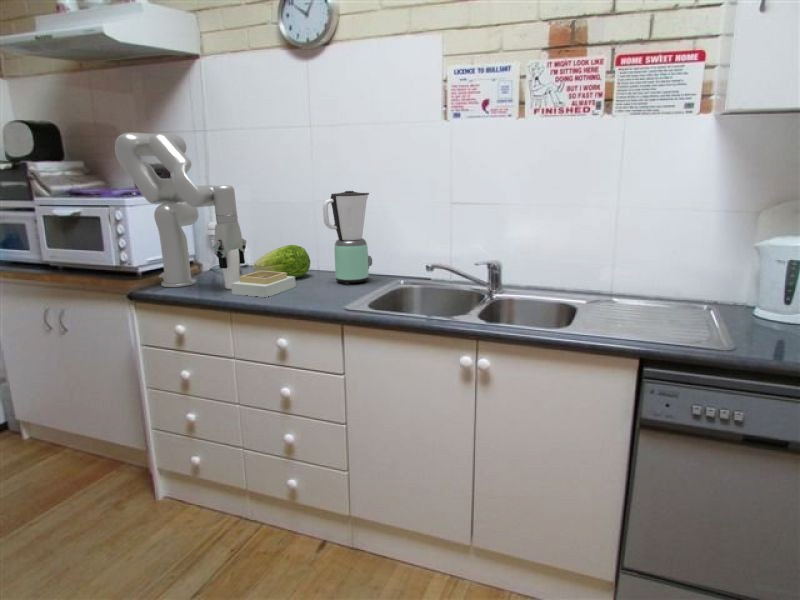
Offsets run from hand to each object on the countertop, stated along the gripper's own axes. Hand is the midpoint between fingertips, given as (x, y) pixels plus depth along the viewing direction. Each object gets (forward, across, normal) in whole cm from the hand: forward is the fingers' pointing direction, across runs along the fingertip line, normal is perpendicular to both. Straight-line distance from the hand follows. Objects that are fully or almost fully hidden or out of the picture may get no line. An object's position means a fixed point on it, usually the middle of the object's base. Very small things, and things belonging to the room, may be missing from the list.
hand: (232, 265), depth 200 cm
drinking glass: (+9, 0, -1) cm, 9 cm away
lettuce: (+9, -24, +4) cm, 26 cm away
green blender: (+10, -25, +36) cm, 45 cm away
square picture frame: (+9, -1, +13) cm, 16 cm away
